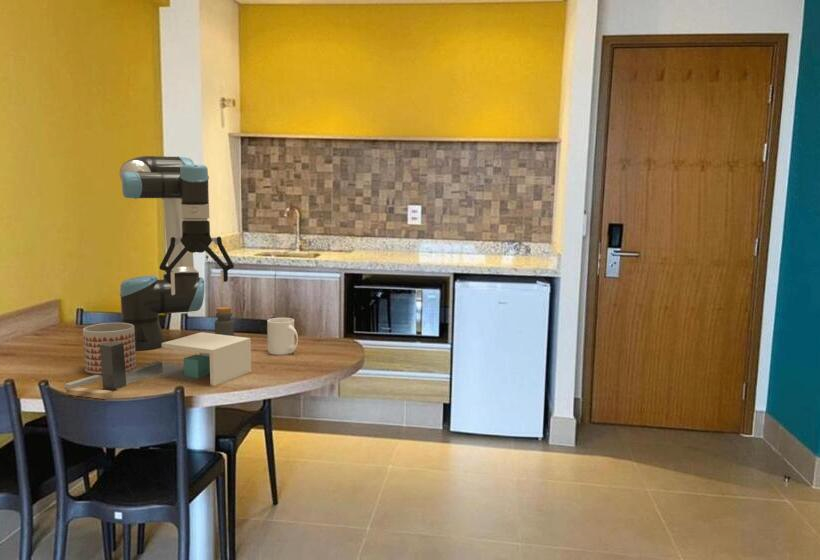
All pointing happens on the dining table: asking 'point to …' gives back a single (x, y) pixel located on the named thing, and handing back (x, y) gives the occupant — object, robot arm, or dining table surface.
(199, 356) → the block
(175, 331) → the dining table surface
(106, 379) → the dark grey l-shaped block
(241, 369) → the cubby
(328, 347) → the dining table surface
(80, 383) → the grey stick
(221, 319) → the bottle
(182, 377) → the mat
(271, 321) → the mug
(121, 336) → the planter
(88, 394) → the oak batten
